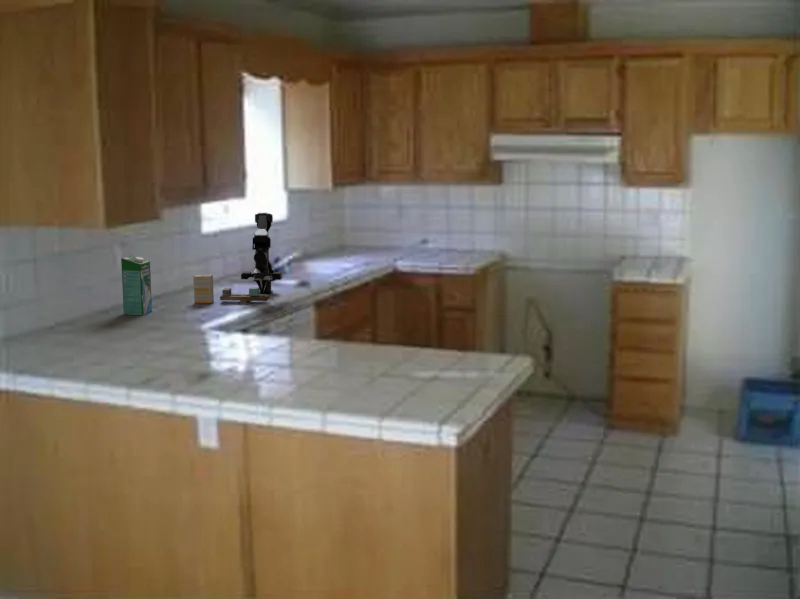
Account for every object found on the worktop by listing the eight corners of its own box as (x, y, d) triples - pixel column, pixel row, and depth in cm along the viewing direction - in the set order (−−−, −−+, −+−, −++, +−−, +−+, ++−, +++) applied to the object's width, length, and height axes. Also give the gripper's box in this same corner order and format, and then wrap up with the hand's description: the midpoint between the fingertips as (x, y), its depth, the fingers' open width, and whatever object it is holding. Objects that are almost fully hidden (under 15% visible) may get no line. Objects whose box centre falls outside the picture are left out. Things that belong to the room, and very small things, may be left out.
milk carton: (142, 315, 402) (140, 258, 397) (123, 314, 404) (120, 258, 399) (152, 311, 411) (149, 255, 406) (133, 310, 412) (131, 255, 408)
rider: (251, 297, 435) (251, 287, 434) (259, 297, 435) (259, 287, 434) (249, 299, 430) (248, 288, 429) (257, 299, 430) (257, 289, 429)
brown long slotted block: (224, 300, 438) (223, 287, 437) (270, 301, 437) (269, 288, 436) (219, 303, 429) (219, 290, 428) (266, 304, 428) (266, 291, 427)
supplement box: (214, 302, 434) (213, 274, 431) (211, 303, 429) (210, 276, 427) (197, 301, 435) (196, 274, 432) (193, 303, 430) (192, 275, 428)
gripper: (238, 263, 422) (239, 296, 425) (278, 263, 421) (279, 297, 424) (242, 259, 433) (243, 292, 436) (282, 260, 432) (283, 292, 435)
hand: (262, 293), depth 432 cm, fingers closed
